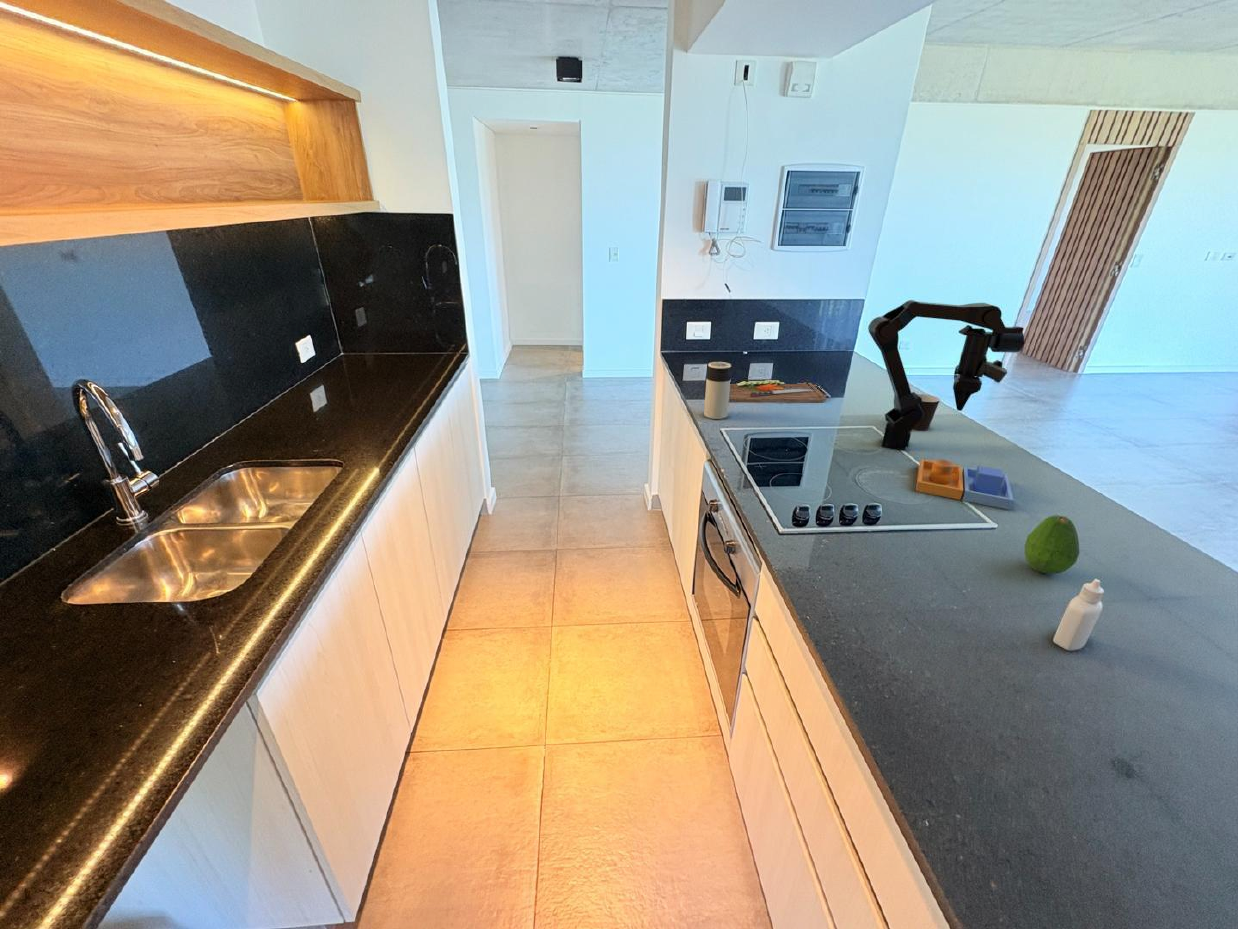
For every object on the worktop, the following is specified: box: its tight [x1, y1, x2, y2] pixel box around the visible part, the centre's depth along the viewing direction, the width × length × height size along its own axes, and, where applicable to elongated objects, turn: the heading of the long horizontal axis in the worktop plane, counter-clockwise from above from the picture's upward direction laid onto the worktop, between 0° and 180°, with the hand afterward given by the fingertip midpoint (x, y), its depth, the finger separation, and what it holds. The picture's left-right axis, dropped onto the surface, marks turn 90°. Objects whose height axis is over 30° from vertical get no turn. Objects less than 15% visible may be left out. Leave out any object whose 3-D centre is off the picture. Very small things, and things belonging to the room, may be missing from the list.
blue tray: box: [961, 466, 1015, 511], centre depth 130 cm, size 10×16×3 cm, turn 150°
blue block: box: [973, 465, 1004, 496], centre depth 130 cm, size 5×5×5 cm
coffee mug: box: [912, 393, 941, 432], centre depth 171 cm, size 12×9×10 cm
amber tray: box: [915, 458, 963, 501], centre depth 135 cm, size 10×16×3 cm, turn 150°
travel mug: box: [703, 361, 732, 420], centre depth 178 cm, size 8×8×18 cm
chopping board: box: [729, 380, 832, 404], centre depth 207 cm, size 45×27×3 cm, turn 88°
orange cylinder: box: [929, 458, 955, 485], centre depth 134 cm, size 5×5×5 cm
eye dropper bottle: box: [1053, 578, 1105, 652], centre depth 82 cm, size 4×6×12 cm
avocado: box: [1024, 514, 1080, 574], centre depth 99 cm, size 8×8×12 cm
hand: (959, 405), depth 151 cm, fingers open, 9 cm apart
